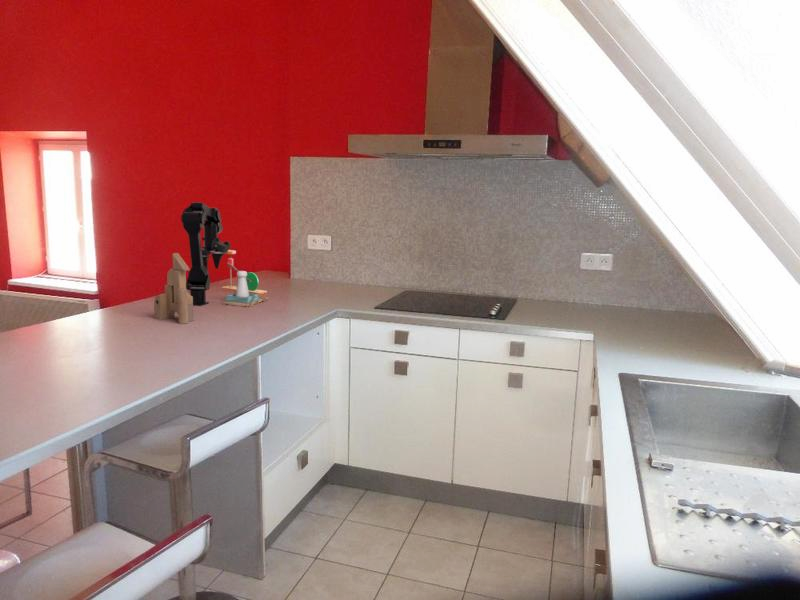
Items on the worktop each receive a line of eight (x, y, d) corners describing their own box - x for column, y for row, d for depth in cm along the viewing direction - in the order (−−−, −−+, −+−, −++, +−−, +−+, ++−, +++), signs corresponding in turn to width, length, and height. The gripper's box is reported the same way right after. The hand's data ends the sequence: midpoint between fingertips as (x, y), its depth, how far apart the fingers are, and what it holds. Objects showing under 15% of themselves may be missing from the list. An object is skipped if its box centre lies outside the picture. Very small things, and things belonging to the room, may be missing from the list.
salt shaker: (244, 299, 257) (243, 269, 254) (252, 300, 253) (251, 271, 251) (232, 300, 252) (232, 270, 250) (240, 302, 249) (240, 272, 246)
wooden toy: (153, 318, 218) (150, 252, 213) (167, 315, 223) (165, 251, 219) (183, 324, 211) (181, 256, 206) (197, 321, 217) (195, 254, 212)
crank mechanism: (220, 289, 285) (219, 250, 281) (230, 288, 290) (229, 249, 287) (259, 295, 273) (258, 255, 269) (268, 293, 278) (268, 253, 275)
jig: (248, 307, 246) (248, 298, 245) (222, 304, 249) (222, 296, 248) (268, 300, 263) (268, 291, 262) (244, 297, 266) (244, 289, 265)
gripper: (215, 237, 253) (215, 273, 256) (237, 235, 271) (237, 268, 273) (192, 236, 255) (193, 271, 258) (215, 234, 273) (216, 266, 276)
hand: (211, 269), depth 266 cm, fingers open, 9 cm apart
